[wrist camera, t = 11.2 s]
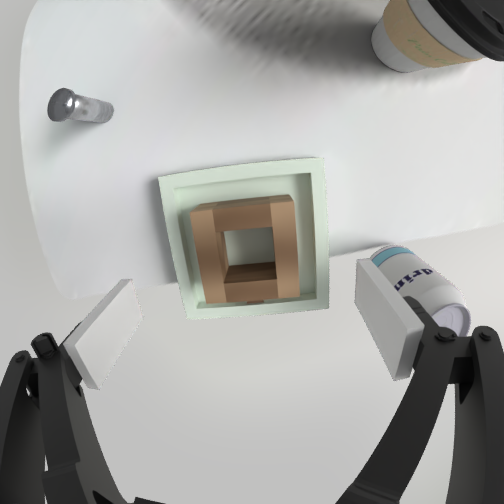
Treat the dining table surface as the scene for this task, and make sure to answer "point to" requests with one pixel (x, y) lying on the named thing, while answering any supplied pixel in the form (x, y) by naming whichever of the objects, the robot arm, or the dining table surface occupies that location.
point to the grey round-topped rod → (78, 107)
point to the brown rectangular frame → (246, 275)
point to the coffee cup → (439, 33)
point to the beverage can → (424, 287)
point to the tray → (251, 231)
